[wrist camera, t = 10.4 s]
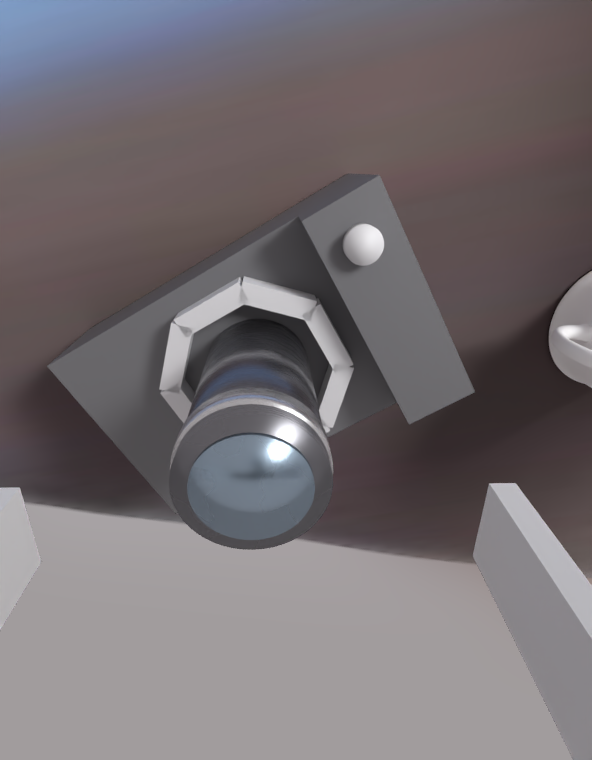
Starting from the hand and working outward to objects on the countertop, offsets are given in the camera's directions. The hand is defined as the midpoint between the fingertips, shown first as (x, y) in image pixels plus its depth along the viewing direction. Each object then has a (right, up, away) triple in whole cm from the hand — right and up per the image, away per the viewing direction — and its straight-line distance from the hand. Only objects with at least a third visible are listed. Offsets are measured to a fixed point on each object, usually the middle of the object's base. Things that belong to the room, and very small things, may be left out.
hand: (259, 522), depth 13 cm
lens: (-1, +5, +11) cm, 12 cm away
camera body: (-1, +7, +16) cm, 18 cm away
